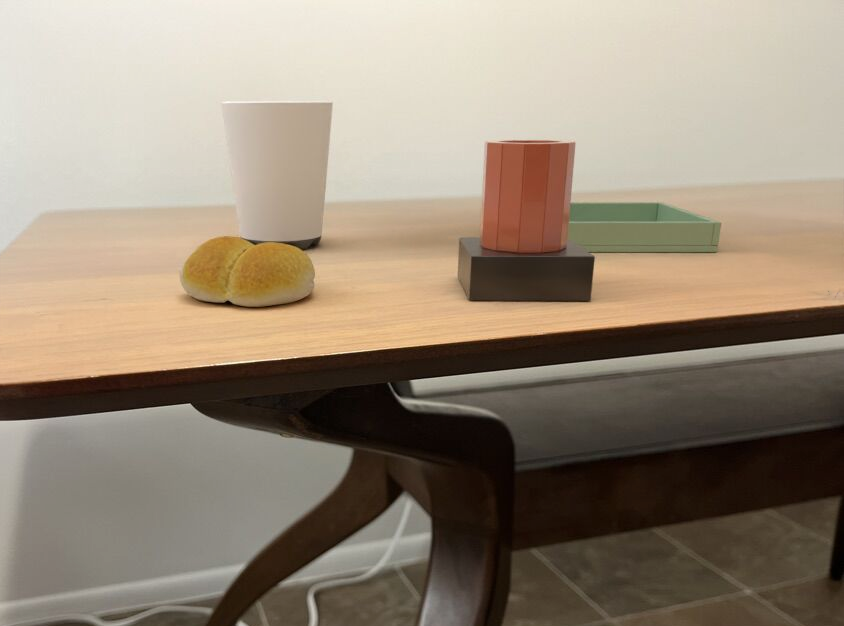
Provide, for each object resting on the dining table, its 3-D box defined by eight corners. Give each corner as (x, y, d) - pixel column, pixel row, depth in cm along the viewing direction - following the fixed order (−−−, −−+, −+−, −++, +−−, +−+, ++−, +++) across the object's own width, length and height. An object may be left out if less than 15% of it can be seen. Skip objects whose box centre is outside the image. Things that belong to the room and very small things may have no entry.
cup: (270, 258, 69) (265, 100, 65) (207, 244, 76) (199, 101, 72) (355, 245, 76) (356, 100, 71) (290, 233, 83) (287, 101, 79)
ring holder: (564, 277, 61) (573, 167, 59) (590, 301, 54) (603, 177, 51) (457, 276, 62) (462, 168, 59) (469, 300, 54) (475, 177, 51)
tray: (659, 227, 85) (662, 202, 84) (717, 252, 71) (721, 222, 70) (494, 227, 86) (495, 202, 85) (518, 252, 72) (520, 222, 71)
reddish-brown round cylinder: (555, 239, 59) (563, 139, 57) (574, 253, 54) (584, 143, 52) (475, 239, 60) (480, 139, 57) (486, 253, 54) (491, 143, 52)
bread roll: (287, 313, 51) (285, 250, 50) (164, 302, 54) (160, 242, 53) (335, 287, 58) (334, 231, 57) (225, 278, 61) (222, 225, 60)
